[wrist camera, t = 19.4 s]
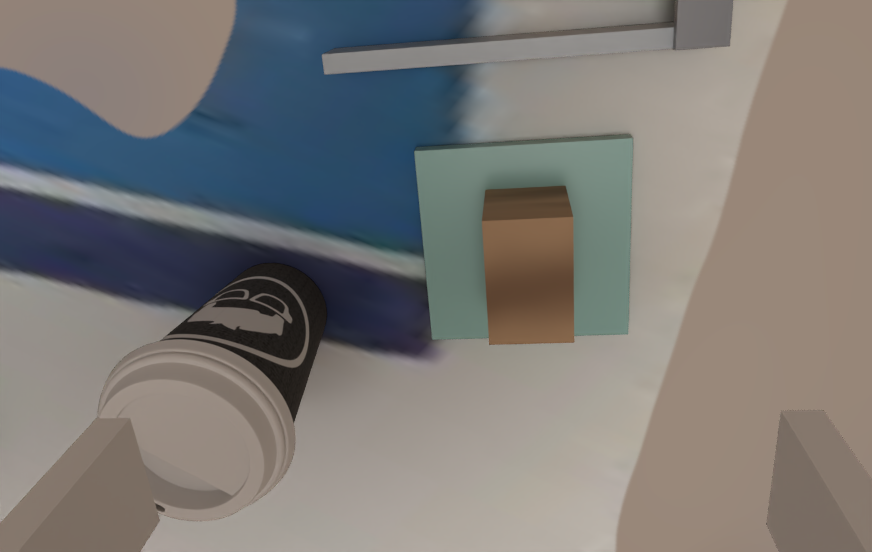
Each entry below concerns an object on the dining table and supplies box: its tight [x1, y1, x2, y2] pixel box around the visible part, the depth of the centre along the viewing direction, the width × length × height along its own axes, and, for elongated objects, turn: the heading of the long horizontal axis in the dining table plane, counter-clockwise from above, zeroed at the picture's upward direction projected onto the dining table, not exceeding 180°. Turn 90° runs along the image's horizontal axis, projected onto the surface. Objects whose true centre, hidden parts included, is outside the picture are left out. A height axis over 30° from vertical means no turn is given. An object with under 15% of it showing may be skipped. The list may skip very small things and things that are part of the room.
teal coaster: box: [414, 134, 633, 340], centre depth 42 cm, size 12×12×1 cm
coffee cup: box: [98, 263, 327, 521], centre depth 40 cm, size 10×10×15 cm
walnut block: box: [482, 186, 574, 345], centre depth 39 cm, size 7×4×6 cm, turn 5°
